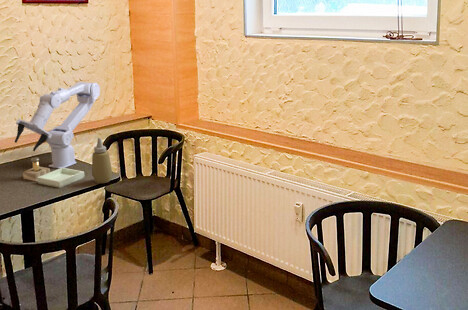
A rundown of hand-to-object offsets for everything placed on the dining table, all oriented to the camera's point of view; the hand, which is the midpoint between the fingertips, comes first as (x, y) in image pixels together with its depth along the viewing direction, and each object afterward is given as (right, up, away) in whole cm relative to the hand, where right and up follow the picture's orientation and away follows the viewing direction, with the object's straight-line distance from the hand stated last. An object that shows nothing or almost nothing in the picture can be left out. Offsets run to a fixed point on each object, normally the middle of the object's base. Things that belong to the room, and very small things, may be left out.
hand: (24, 145), depth 223 cm
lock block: (+2, -13, +7) cm, 15 cm away
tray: (+14, -14, +3) cm, 20 cm away
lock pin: (+2, -13, +7) cm, 15 cm away
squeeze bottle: (+31, -15, +2) cm, 34 cm away
